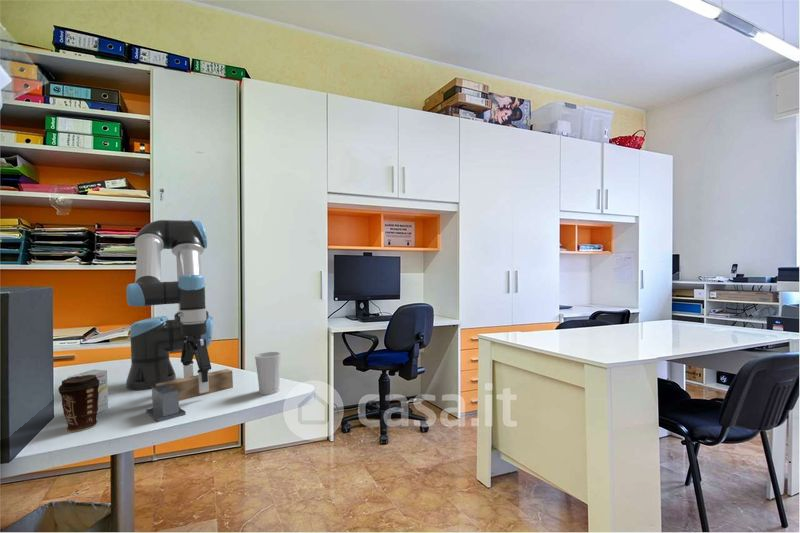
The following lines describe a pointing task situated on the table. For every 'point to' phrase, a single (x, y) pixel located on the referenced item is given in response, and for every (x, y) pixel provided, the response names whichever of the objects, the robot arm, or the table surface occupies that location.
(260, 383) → the cup
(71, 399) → the coffee cup
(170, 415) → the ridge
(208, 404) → the table surface
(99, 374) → the ink box
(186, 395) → the walnut beam
